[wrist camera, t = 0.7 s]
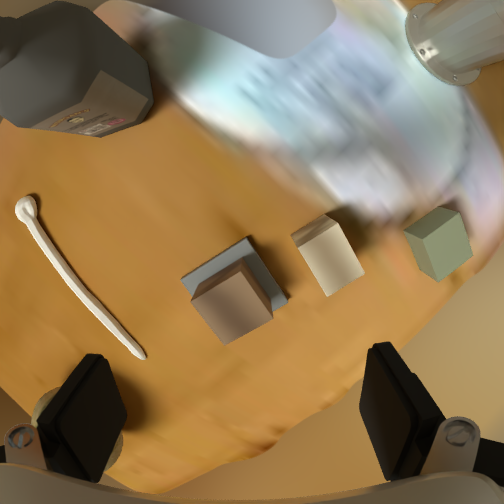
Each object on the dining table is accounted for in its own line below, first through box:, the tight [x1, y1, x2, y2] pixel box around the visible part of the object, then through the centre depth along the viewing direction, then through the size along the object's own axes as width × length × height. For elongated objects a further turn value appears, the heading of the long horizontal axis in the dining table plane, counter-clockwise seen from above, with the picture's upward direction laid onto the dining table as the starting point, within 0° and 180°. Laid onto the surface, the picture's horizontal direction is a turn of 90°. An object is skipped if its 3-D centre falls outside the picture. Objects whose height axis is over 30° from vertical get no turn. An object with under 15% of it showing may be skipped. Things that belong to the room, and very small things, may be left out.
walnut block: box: [191, 257, 273, 345], centre depth 33 cm, size 6×6×5 cm
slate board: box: [181, 237, 288, 312], centre depth 36 cm, size 9×9×1 cm
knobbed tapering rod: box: [15, 196, 146, 360], centre depth 36 cm, size 28×4×3 cm, turn 39°
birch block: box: [291, 214, 365, 297], centre depth 33 cm, size 4×6×6 cm
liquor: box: [0, 1, 154, 138], centre depth 16 cm, size 9×9×30 cm
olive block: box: [403, 207, 473, 282], centre depth 33 cm, size 6×6×5 cm
